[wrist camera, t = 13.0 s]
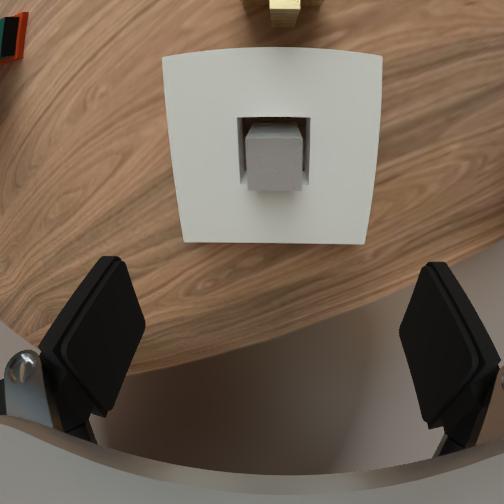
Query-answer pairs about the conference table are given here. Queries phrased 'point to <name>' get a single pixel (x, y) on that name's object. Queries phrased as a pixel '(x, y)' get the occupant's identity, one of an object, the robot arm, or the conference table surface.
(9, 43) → the power tool
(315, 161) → the socket block
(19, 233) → the conference table surface
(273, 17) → the cross bar
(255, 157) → the square bar
